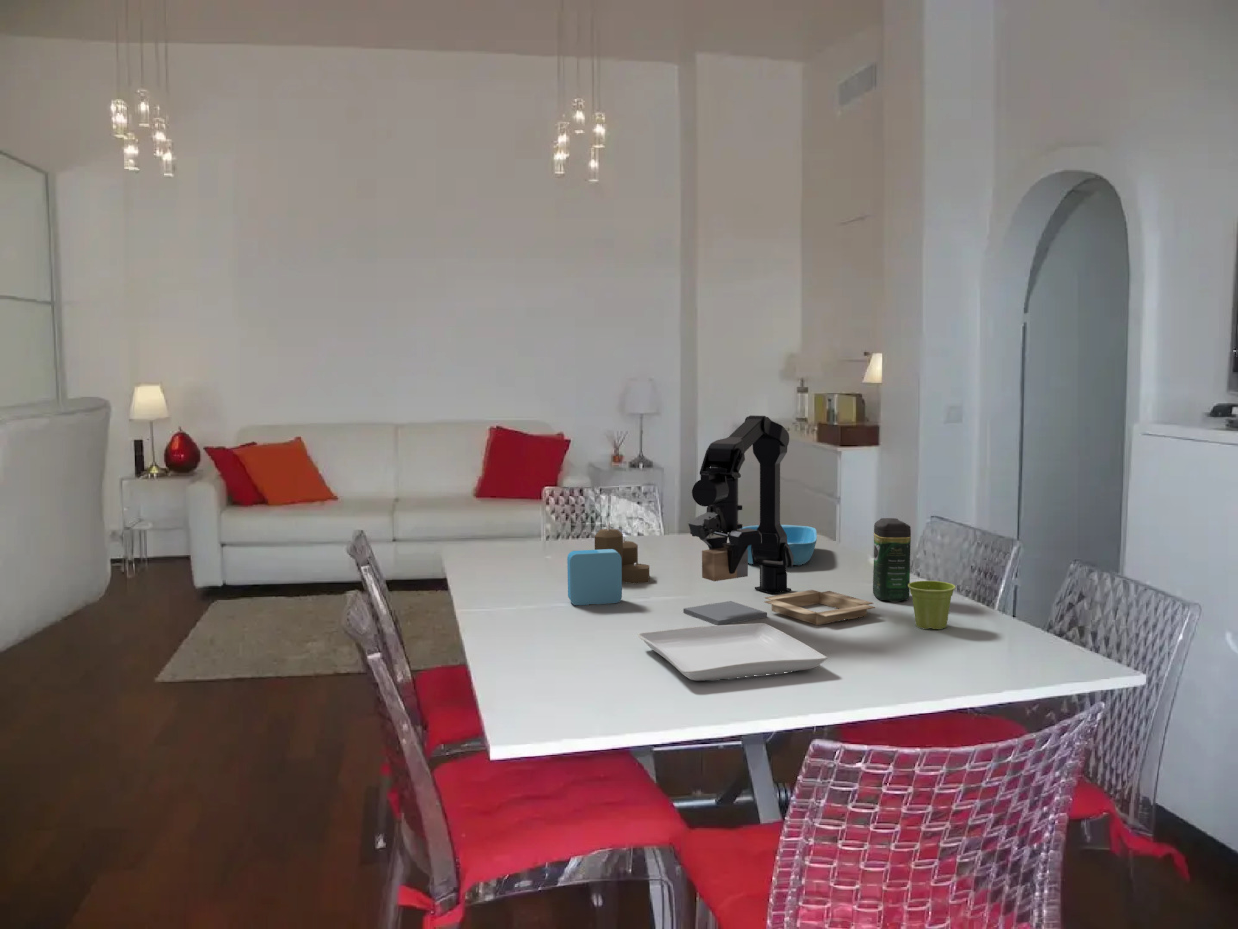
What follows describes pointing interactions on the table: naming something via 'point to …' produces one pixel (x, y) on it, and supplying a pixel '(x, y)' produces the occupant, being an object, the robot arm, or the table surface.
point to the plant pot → (931, 603)
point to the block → (722, 565)
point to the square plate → (732, 651)
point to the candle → (623, 554)
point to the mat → (725, 613)
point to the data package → (594, 576)
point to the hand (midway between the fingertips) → (725, 571)
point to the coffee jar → (891, 560)
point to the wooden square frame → (846, 604)
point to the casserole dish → (795, 542)
